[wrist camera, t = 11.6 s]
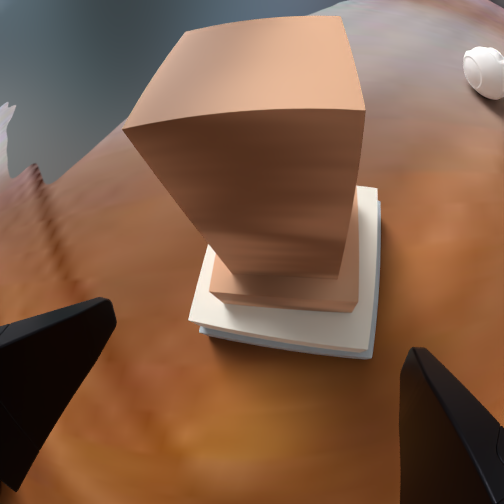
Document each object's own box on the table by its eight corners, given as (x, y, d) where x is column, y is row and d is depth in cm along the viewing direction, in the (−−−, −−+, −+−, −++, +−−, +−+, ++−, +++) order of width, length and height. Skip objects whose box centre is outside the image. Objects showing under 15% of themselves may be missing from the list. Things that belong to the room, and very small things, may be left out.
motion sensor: (501, 91, 25) (515, 53, 18) (509, 119, 23) (528, 77, 16) (456, 69, 28) (466, 28, 21) (459, 94, 25) (473, 47, 18)
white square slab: (371, 208, 20) (377, 188, 17) (359, 352, 16) (367, 349, 14) (236, 195, 22) (228, 175, 20) (202, 327, 18) (188, 320, 16)
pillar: (352, 199, 17) (366, 9, 6) (351, 312, 15) (430, 156, 4) (241, 196, 19) (169, 27, 8) (223, 303, 16) (73, 169, 5)
